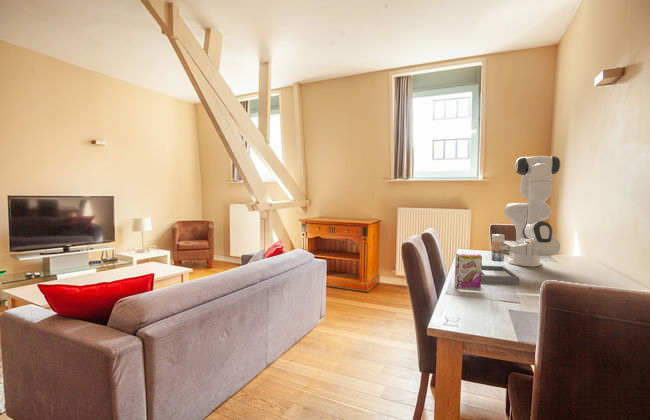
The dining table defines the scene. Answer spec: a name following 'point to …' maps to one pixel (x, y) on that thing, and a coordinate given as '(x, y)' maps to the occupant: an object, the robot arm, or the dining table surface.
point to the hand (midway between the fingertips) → (496, 246)
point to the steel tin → (497, 241)
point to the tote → (499, 279)
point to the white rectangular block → (494, 273)
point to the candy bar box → (468, 270)
